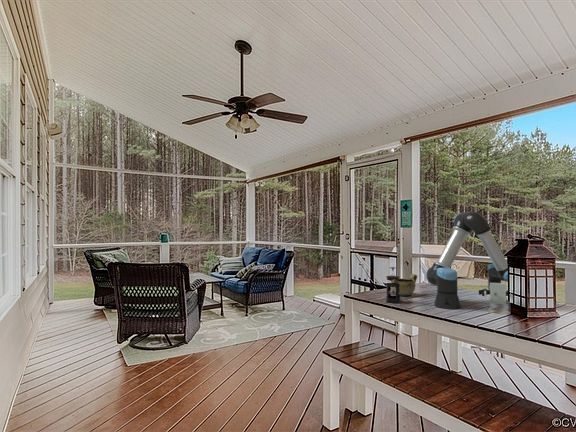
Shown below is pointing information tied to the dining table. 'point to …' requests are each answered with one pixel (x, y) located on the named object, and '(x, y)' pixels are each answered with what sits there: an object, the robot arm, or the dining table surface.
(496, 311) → the cradle
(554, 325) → the dining table surface
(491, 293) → the flat rectangular panel
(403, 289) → the ceramic bowl
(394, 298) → the french press
